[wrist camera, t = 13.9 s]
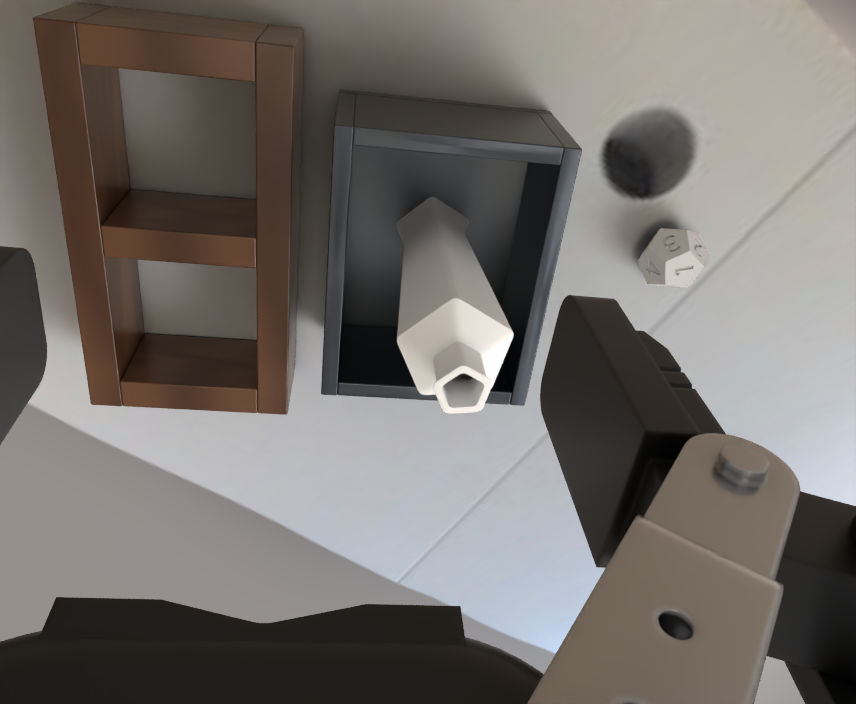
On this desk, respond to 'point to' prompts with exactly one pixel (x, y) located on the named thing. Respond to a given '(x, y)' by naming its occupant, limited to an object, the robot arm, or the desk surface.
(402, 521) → the desk surface
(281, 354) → the rack
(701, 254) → the game die
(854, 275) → the desk surface
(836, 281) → the desk surface
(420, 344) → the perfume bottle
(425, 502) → the desk surface
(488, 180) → the dark grey open box
